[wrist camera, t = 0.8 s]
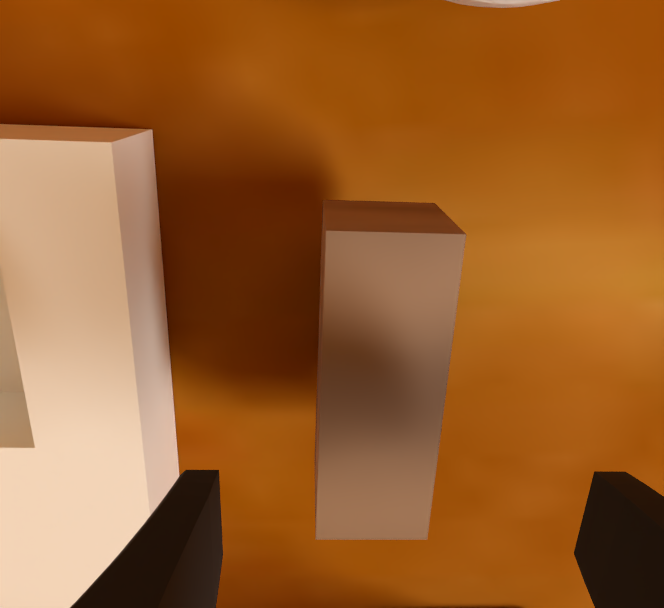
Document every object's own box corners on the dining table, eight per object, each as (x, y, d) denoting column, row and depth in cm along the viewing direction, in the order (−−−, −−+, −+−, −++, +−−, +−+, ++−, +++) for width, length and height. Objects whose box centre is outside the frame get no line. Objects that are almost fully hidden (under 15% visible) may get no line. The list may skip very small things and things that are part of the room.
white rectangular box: (185, 560, 25) (163, 645, 21) (-51, 560, 24) (-117, 648, 20) (152, 129, 18) (111, 142, 14) (-176, 117, 17) (-308, 128, 14)
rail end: (395, 414, 22) (427, 539, 16) (314, 413, 22) (315, 539, 16) (416, 184, 19) (465, 234, 13) (320, 181, 19) (326, 230, 13)
